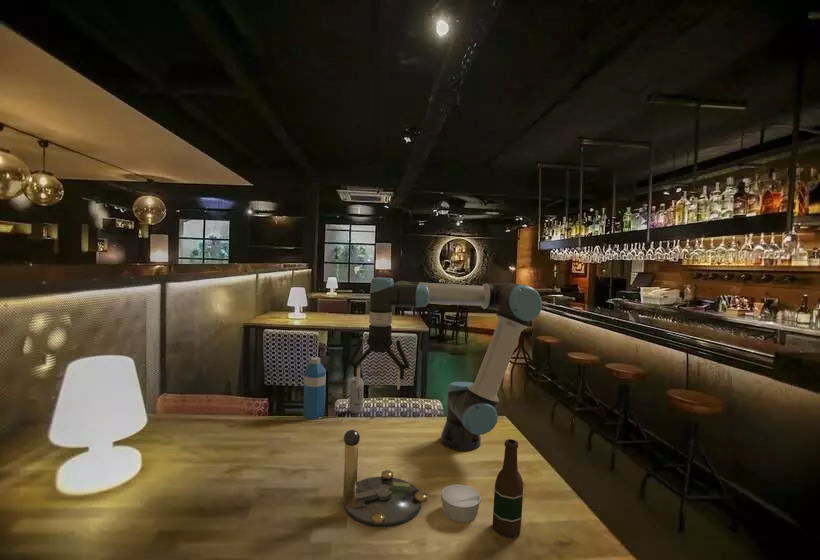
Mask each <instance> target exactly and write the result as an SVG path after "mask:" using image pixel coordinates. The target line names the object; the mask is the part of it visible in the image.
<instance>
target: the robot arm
mask: <svg viewBox="0 0 820 560" xmlns="http://www.w3.org/2000/svg"><path fill="white" fill-rule="evenodd" d="M429 304H435V305H436V304H437V305H452V306H453V305H455V306H456V305H458V306H475V307H481V308H482V309H484V310H485V309H487V310H494V311H497V312H496V315H495V316H496V318H497V321H498V322H497V324H496V326H495V329H494V331H493V335H492V336H491V339H490V342H489V344H488V347H487V350H486V352H485V355H484V357H483V360H482V362H481V366H480V367H479V369H478V372H477V375H476V377H475V381H474V382H471V381H453V382H450V383H449V384H448V386H447V391H446V393H447V394H446V395H447V399H446V421H445V424H444V426H443V428H442V432H441V435H440V441H441V442H440V443H441V444H442V445H443V446H445V447H447V448H448V449H451V450H455V451H464V452H465V451H466V452H467V451H472V450H476V449H478V448H479V447H481V442H482V441H481V440H482V437H481V436H482V435H486V434H487V433H490V432H492V430H493V429H494V428H495V427H496V426H497V423H498V417H499V416H498V413H497V410H496V409H497V408H498V404H499V402H500V399H499V397H498V393H499V389H500V387H501V384H502V382H503V379H504V376H505V374H506V371H507V369H508V367H509V365H510V361H511V359H512V356H513V354H514V352H515V351H514V350H515V349H516V346H517V343H518V340H519V339H520V336H521V334H522V332H523V330H525V329H528V328H529V326H530V323H531V321H533V320H534V319H536V318H537V317H539V315H540V314H541V311H542V307H543V301H542V297H541V296H540V293H539V292H538V291H537V290H536V289H535V288H533V287H532V286H530V285H529V286H528V285H525V284H519V283H514V282H500V283H489V282H488V283H483V284H482V285H472V284H456V283H454V284H453V283H438V282H437V283H436V282H434V283H433V282H422V281H421V282H416V281H406V280H399V281H397V282H395V283H394V279H393V278H391V277H373V278H371V280H370V289H369V316H368V317H369V319H368V323H369V325H368V337H367V338H364V337H362V336H361V337H360V338H359V339H358V344H357V347H356V348H355V350H354V352H353V354H352V356H351V357H350V360H349V361H348V363H347V364H348V366H351V367H353V373H352V375H353V378H354V377H357V379H356V387H359V386H360V378H361V365H360V364H361V363H362V362H363V361H364V360H365V359H366V358H367V356H368V355H370V354H371V353H372V352H373V353H377V354H378V353H380V354H384V353H386V354H387V355H388V356H389V357H390V359H392V361H393V362H394V364H395V365H396V366H397V367H398V368H397V378H396V379H397V381H396V383H397V384H396V385H397V387H396V390H397V391H398V390H399V391H400V388H401V380H404V378H405V377H404V375H405V370H406V369H410V362H409V359H408V358H407V355H406V353H405V351H404V349H403V346H402V340H401V339H400V338H397V339H392V329H393V326H392V325H391V324H393V308H394V307H395V308H398V307H403V308H404V307H405V308H424V307H427V306H428V305H429ZM366 343H367V345H368V346H369V347H368V348H367V349H366V351H364V353H363V354H362V355H361V356H360V357H359V358H358V359H357V360H356V358H357V356H358V355H359V352H360V351H361V349H362V347H363V346H364V345H365V344H366ZM392 345H394V347H396V348H397V351H398V354H399V356H400V358H401V360H402V361H401V360H400V359H399V357H398V356H397V355H396V353H395V352H394V351H393V349H392V347H391V346H392ZM355 360H356V361H355ZM402 362H403V363H402Z"/></svg>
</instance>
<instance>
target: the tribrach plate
mask: <svg viewBox="0 0 820 560" xmlns="http://www.w3.org/2000/svg"><path fill="white" fill-rule="evenodd" d="M382 484H385V485H389V486H390V487H391V488H392V497H391V498H390V499H389V500H386V501H380V500H377V499H376V498H375V499H371V500H367V501H363V502H358V503H355V504H354V505H351V506H348V505H345V504H344V503H343V507H344V511H345V513H346V514H347V515H348V516H349V517H350V518H351V519H352V520H353V521H355V522H357V523H359V524H361V525H365V526H367V527H368V526H369V527H373V528H374V527H375V528H392V527H397V526H401V525H404V524H406V523H408V522H410V521H412V520H413V519H414V518H416V516H418V515H419V513H420V511H421V508H422V504H423V503H426V502H427V501H428V497H429V494H428V493H427V492H424V491H420V490H419V489H418V487H416V486H415V485H413V483H411V482H409V481H406V480H404V479H402V478H397V477H394V472H393V471H392V470H389V469H385V470H382V471H381V476H374V477H373V476H372V477H369V478H368V477H367V478H364V479H361V480H359V481H357V493H362V492H366V491H370V490H375V487H376V486H378V485H382Z"/></svg>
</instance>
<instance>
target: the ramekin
mask: <svg viewBox="0 0 820 560" xmlns="http://www.w3.org/2000/svg"><path fill="white" fill-rule="evenodd" d="M440 499H441V505H442V511H443V513H444V515H445V516H446V517H447V518H448V519H449V520H450V521H451V520H452V521H453V522H456V523H468V522H471V521H473V520H474V519H475V518H476V517H477V516H478V512H479V507H480V504H481V502H482V498H481V495H480V493H479V492H478V491H477V490H476V489H475V488H473V487H471V486H469V485H465V484H451V485H448V486H444V487H443V488H442V490H441V493H440Z"/></svg>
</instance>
